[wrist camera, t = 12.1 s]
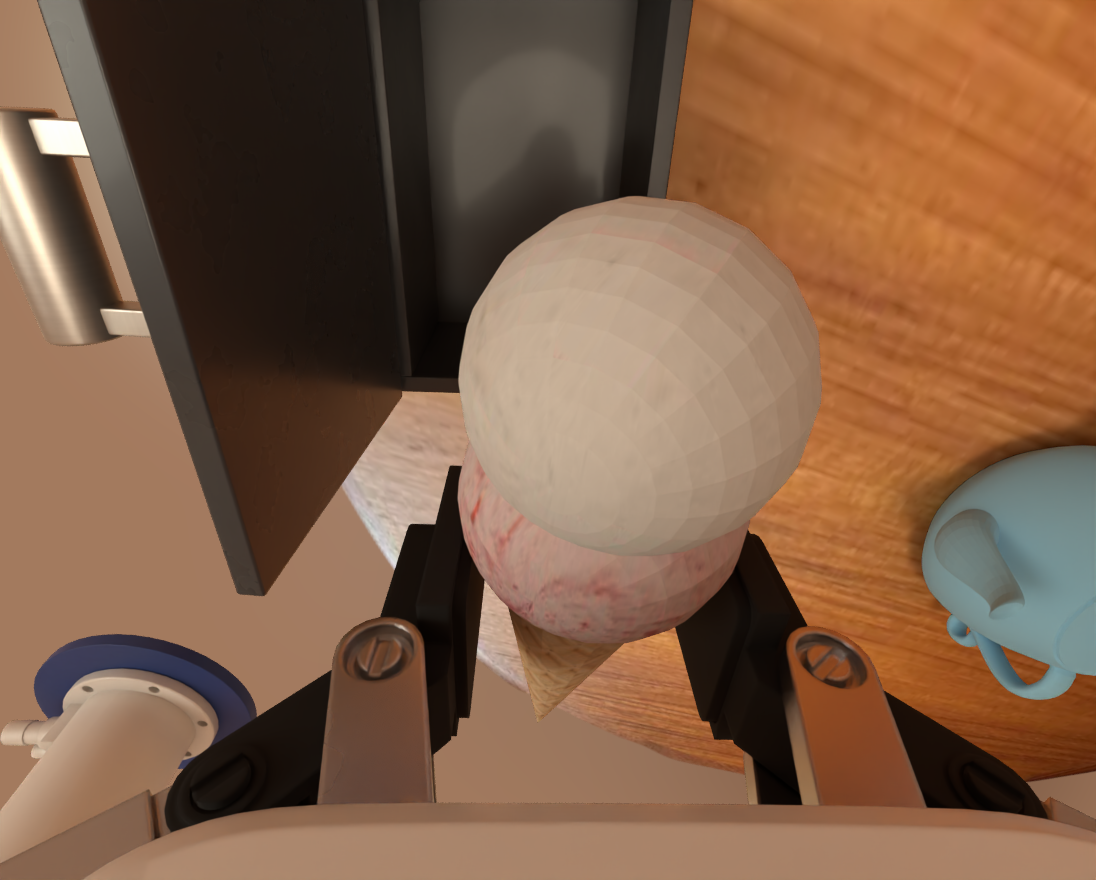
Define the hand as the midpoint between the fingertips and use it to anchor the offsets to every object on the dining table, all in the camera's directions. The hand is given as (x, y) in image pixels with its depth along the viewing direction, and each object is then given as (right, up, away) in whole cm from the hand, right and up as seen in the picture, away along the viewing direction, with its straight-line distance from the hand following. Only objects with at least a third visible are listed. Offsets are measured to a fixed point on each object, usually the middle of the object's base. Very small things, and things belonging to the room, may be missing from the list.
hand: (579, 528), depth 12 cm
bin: (-2, +16, +17) cm, 24 cm away
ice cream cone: (0, 0, 0) cm, 1 cm away
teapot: (+36, -3, +30) cm, 47 cm away
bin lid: (-8, +8, +4) cm, 12 cm away
